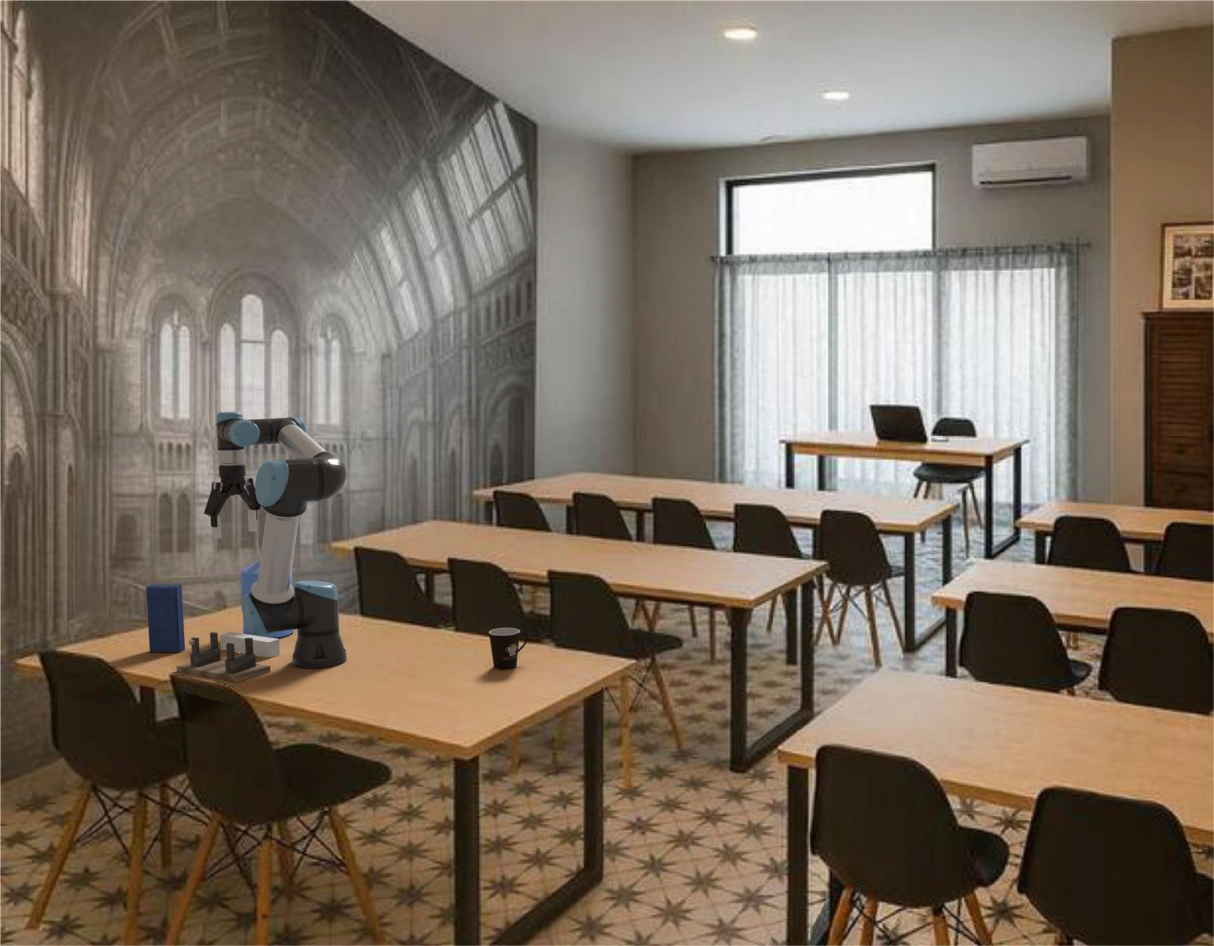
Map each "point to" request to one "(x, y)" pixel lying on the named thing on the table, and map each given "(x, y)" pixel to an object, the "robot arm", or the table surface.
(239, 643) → the white slab
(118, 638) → the table surface
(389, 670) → the table surface
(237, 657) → the cable cradle
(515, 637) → the coffee mug
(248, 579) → the water jug
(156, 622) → the electronic device
